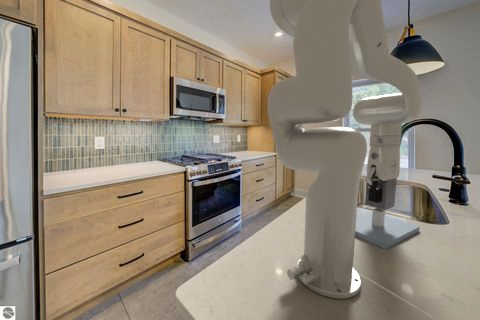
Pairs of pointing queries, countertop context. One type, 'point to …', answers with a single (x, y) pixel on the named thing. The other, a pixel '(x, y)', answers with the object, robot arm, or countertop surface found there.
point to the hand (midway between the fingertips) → (379, 199)
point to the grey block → (383, 194)
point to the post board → (382, 229)
